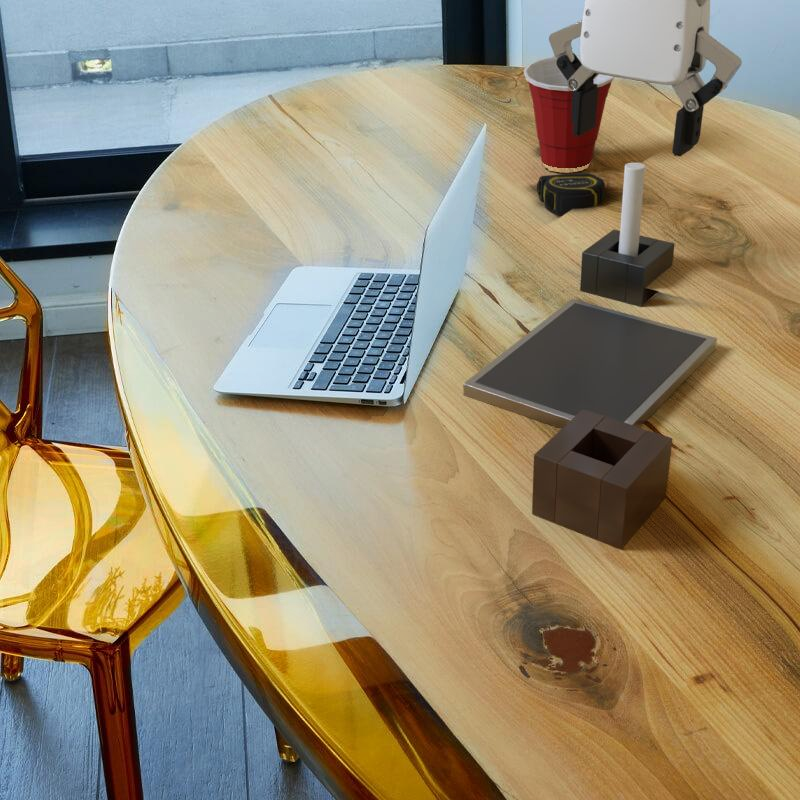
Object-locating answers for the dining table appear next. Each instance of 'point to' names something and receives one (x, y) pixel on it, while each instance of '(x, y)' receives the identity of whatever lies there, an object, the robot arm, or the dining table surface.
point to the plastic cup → (561, 115)
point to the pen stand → (601, 477)
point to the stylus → (631, 208)
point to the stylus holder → (624, 268)
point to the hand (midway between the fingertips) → (632, 141)
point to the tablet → (591, 366)
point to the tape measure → (570, 191)
